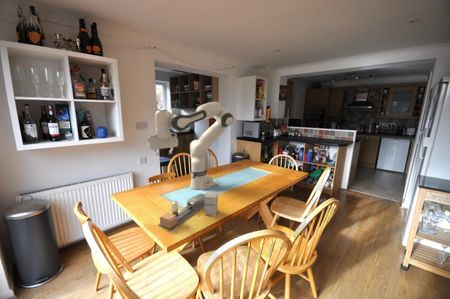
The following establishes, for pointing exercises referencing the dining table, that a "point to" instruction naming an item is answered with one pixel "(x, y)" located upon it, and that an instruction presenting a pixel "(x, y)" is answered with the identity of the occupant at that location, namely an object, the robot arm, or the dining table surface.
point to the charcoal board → (184, 217)
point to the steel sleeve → (196, 201)
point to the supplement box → (211, 203)
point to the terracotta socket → (168, 220)
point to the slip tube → (180, 212)
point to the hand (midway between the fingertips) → (164, 154)
